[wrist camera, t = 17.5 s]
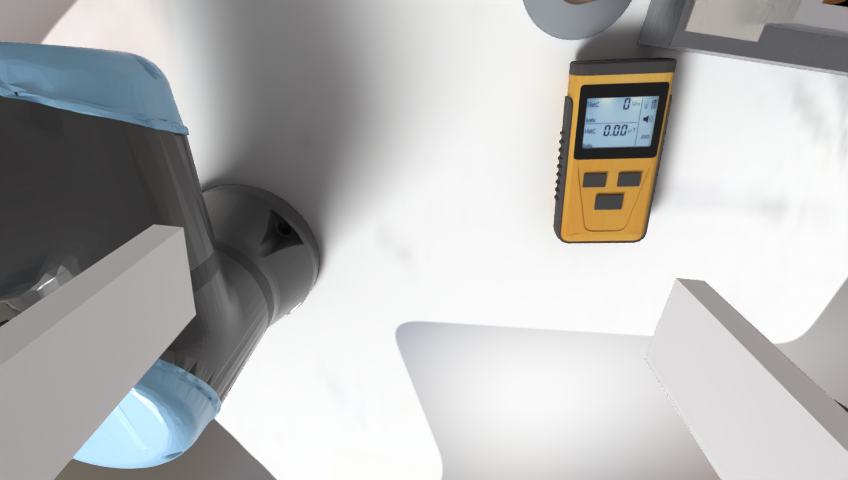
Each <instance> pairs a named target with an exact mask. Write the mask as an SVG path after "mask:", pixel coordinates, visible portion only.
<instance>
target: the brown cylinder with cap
mask: <svg viewBox="0 0 848 480" xmlns="http://www.w3.org/2000/svg"><path fill="white" fill-rule="evenodd" d="M564 1H565V2H567V3H569V4H574V5H579V4H584V3H588V2H593V1H597V0H564Z"/></svg>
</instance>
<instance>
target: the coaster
mask: <svg viewBox="0 0 848 480" xmlns="http://www.w3.org/2000/svg"><path fill="white" fill-rule="evenodd" d="M523 2H524V5H525V8H526V10H527V12H528V14H529V16H530V17H531V19H532V20H533V22H534V23H535V24H536V25H537V26H538V27H539V28H540V29H541V30H543V31H544V32H546V33H547V34H549V35H551V36H554V37H556V38H560V39H566V40H578V39H584V38H588V37H591V36H594V35H596V34H598V33H600V32H602V31H603V30H605V29H607V28H608V27H609V26H611V25H612V24H613V23H614V22H615V21H616V20H617V19H618V18H619V17H620V16H621V15H622V14H623V12H624V11H625V10H626V9H627V7H628V5H629V4H630V2H631V0H597V1H593V2H588V3H584V4H579V5H574V4H569V3H567V2H565V1H564V0H523Z"/></svg>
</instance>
